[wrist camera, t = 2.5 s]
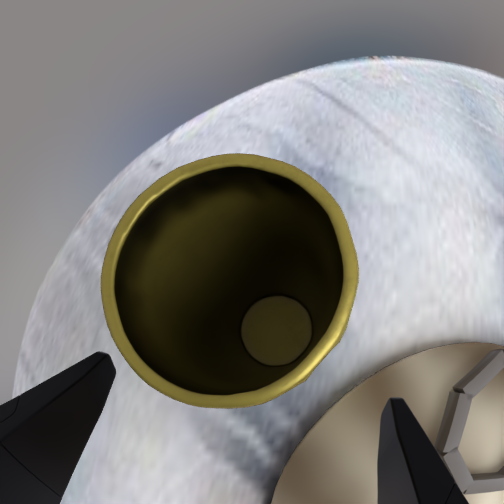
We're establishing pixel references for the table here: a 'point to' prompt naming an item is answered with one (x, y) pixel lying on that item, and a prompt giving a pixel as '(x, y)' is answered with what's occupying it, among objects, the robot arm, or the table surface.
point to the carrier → (428, 415)
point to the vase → (229, 280)
